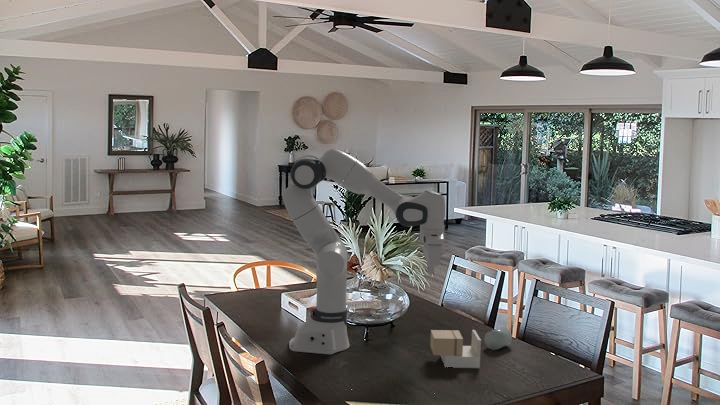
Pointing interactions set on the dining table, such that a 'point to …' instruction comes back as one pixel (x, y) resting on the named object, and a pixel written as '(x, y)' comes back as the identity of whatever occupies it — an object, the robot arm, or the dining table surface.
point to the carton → (446, 342)
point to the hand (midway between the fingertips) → (430, 272)
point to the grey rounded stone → (498, 338)
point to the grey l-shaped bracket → (465, 355)
